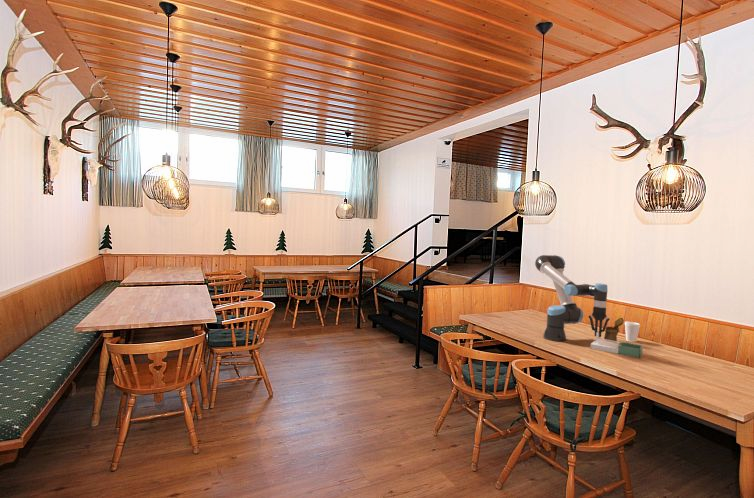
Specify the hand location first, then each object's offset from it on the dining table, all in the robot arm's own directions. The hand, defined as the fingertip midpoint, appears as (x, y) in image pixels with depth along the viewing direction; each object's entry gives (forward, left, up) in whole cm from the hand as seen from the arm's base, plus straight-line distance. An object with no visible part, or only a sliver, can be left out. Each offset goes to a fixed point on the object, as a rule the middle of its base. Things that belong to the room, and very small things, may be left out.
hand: (597, 341), depth 275 cm
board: (+5, 0, -4) cm, 7 cm away
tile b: (+10, 0, -1) cm, 10 cm away
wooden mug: (+6, +22, -5) cm, 24 cm away
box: (+19, 0, -4) cm, 20 cm away
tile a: (+4, 0, -1) cm, 4 cm away
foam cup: (+15, +41, -5) cm, 44 cm away
